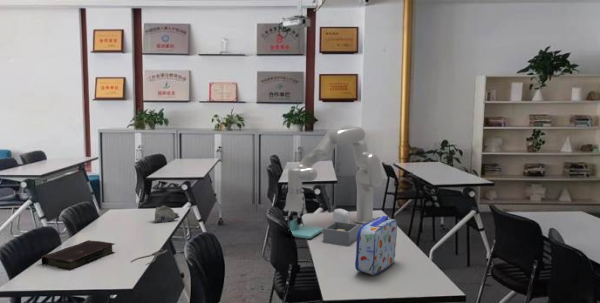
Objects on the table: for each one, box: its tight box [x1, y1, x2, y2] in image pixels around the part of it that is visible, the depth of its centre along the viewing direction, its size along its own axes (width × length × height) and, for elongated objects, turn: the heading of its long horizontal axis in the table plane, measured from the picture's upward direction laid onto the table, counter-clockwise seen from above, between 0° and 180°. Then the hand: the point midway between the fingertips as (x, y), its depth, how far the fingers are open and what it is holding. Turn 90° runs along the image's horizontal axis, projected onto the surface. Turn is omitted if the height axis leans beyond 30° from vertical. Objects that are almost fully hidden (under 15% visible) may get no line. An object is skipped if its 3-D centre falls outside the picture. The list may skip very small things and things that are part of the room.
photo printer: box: [333, 208, 351, 223], centre depth 251 cm, size 10×4×12 cm, turn 39°
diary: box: [41, 239, 116, 271], centre depth 207 cm, size 19×25×5 cm
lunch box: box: [354, 215, 398, 276], centre depth 196 cm, size 28×10×22 cm, turn 148°
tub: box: [322, 221, 361, 247], centre depth 235 cm, size 16×14×7 cm
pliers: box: [130, 248, 168, 266], centre depth 209 cm, size 10×1×20 cm
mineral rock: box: [154, 205, 180, 224], centre depth 269 cm, size 13×11×10 cm
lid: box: [289, 218, 325, 240], centre depth 245 cm, size 17×15×8 cm
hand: (295, 223), depth 247 cm, fingers open, 4 cm apart
